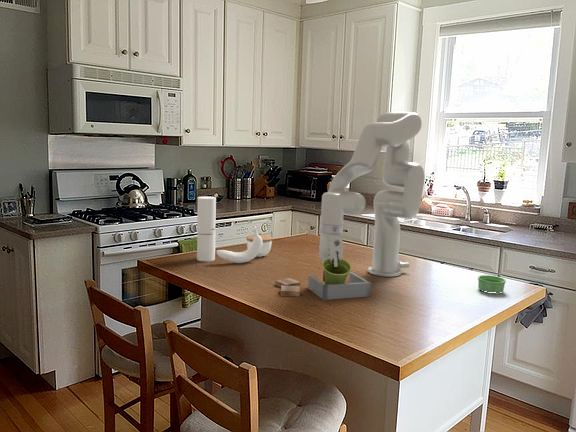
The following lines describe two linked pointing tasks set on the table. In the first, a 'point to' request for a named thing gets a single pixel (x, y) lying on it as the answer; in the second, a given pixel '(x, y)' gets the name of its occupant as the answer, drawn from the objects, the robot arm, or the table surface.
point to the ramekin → (491, 283)
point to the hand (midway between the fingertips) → (328, 281)
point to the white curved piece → (246, 255)
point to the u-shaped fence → (340, 288)
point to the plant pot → (336, 272)
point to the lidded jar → (265, 245)
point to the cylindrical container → (206, 228)
